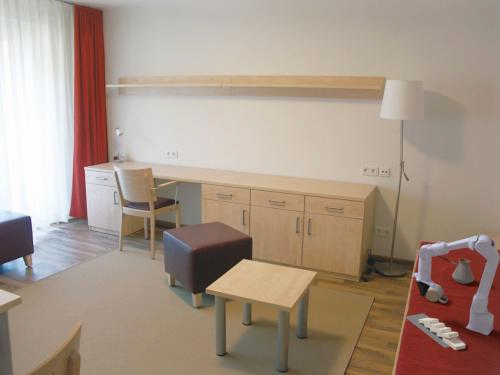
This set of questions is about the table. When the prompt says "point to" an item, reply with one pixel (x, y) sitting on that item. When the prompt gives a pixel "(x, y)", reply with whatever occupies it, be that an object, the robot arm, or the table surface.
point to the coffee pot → (462, 271)
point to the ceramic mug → (436, 294)
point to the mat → (427, 329)
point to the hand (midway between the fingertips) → (422, 295)
